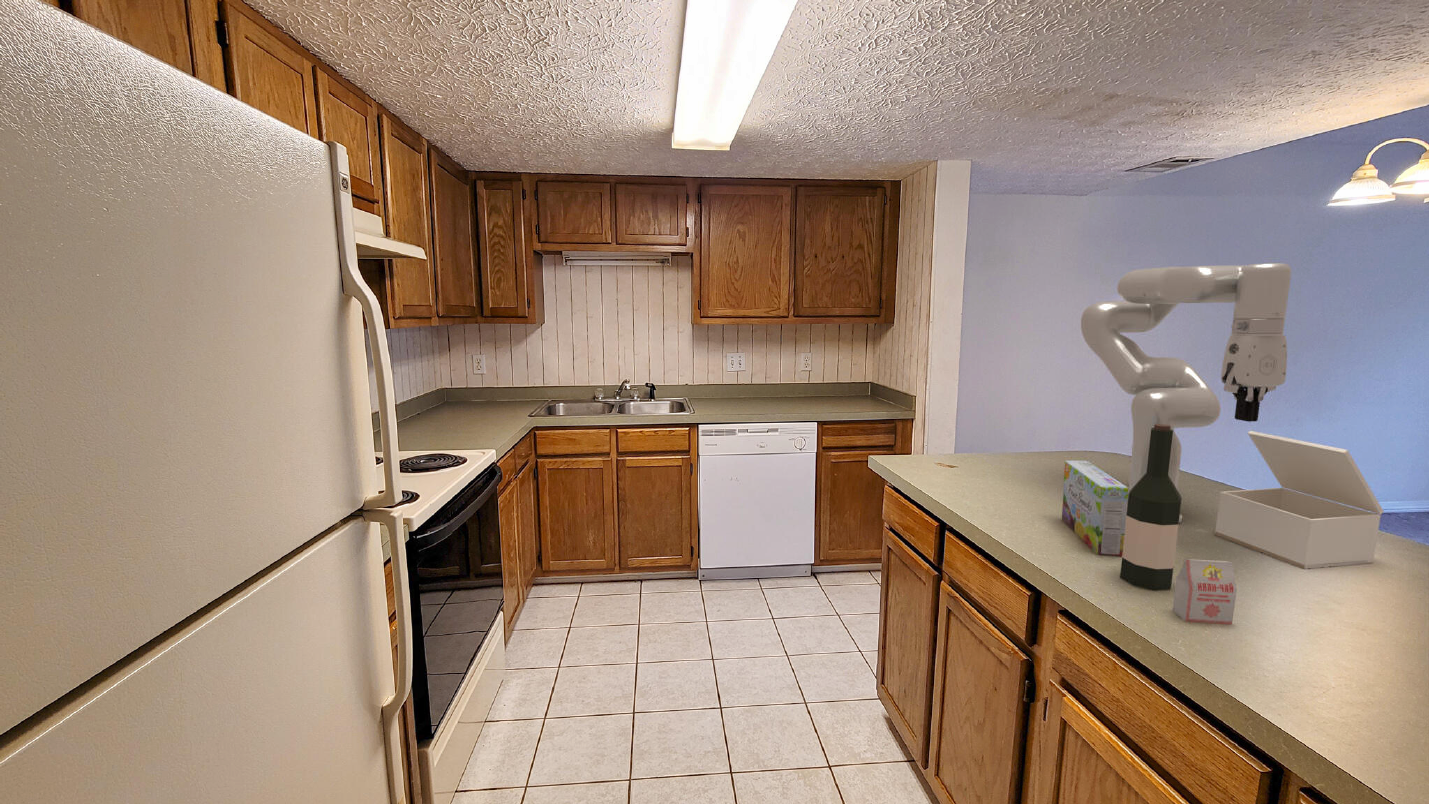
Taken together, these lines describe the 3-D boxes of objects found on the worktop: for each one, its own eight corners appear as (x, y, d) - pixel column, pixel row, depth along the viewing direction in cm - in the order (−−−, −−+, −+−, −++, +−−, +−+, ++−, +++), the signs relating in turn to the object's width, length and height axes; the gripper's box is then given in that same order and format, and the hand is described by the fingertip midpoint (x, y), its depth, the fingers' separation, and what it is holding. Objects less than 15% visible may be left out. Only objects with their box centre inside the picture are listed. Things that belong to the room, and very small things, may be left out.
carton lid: (1344, 452, 113) (1347, 449, 113) (1247, 433, 130) (1250, 430, 130) (1380, 514, 116) (1383, 511, 116) (1281, 487, 134) (1284, 484, 134)
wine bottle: (1158, 595, 106) (1176, 431, 101) (1109, 576, 114) (1124, 423, 109) (1182, 584, 110) (1201, 426, 105) (1134, 567, 117) (1149, 419, 112)
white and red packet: (1172, 610, 101) (1179, 554, 100) (1217, 613, 100) (1224, 557, 98) (1185, 621, 98) (1192, 564, 96) (1231, 624, 96) (1239, 566, 95)
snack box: (1058, 519, 144) (1063, 459, 142) (1084, 521, 143) (1089, 460, 140) (1095, 555, 123) (1101, 485, 121) (1125, 557, 122) (1132, 486, 120)
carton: (1304, 569, 116) (1311, 520, 114) (1214, 534, 133) (1220, 491, 132) (1372, 563, 118) (1380, 515, 116) (1275, 529, 135) (1281, 487, 134)
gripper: (1243, 329, 111) (1232, 425, 114) (1311, 328, 113) (1298, 422, 116) (1205, 328, 118) (1195, 418, 121) (1269, 327, 121) (1258, 415, 123)
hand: (1245, 420), depth 119 cm, fingers closed
